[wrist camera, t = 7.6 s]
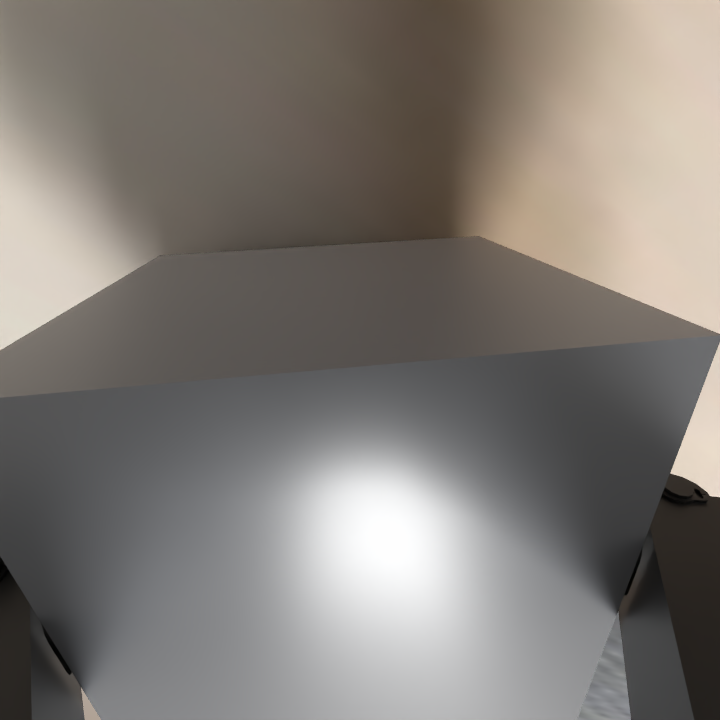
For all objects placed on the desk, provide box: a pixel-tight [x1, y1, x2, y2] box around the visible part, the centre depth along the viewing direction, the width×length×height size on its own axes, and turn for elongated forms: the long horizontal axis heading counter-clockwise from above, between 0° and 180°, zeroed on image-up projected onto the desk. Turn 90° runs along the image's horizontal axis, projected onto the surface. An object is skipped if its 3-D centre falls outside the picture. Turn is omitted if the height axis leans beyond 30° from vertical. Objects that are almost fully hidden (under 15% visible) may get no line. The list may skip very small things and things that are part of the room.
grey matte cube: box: [0, 236, 720, 720], centre depth 11 cm, size 10×10×9 cm
